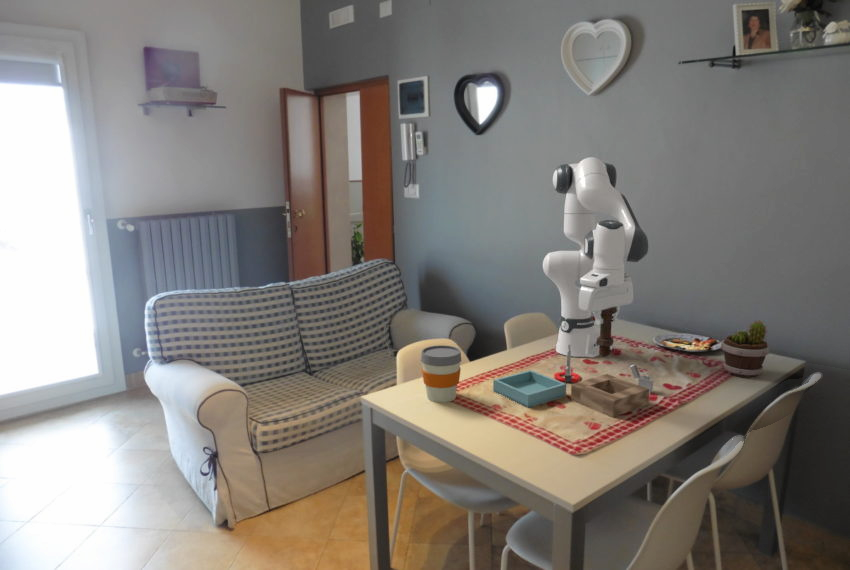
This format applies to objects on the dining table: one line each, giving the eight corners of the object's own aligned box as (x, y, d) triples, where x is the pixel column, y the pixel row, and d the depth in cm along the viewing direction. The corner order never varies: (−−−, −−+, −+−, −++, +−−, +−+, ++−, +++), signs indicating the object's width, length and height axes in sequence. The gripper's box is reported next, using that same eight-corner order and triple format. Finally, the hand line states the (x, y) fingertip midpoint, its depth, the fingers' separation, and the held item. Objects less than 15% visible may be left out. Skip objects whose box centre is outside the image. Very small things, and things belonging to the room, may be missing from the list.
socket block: (606, 388, 195) (606, 374, 194) (648, 404, 182) (649, 388, 181) (570, 399, 186) (571, 384, 185) (612, 417, 173) (613, 401, 172)
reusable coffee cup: (468, 393, 192) (468, 348, 189) (449, 407, 182) (449, 359, 179) (434, 387, 199) (433, 343, 196) (413, 400, 188) (413, 353, 185)
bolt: (617, 356, 181) (620, 307, 178) (605, 359, 178) (607, 310, 175) (603, 351, 186) (606, 303, 183) (591, 354, 183) (593, 305, 180)
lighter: (652, 392, 192) (654, 367, 190) (650, 393, 191) (651, 369, 189) (630, 386, 196) (632, 363, 195) (628, 388, 195) (629, 364, 194)
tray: (530, 381, 202) (530, 369, 202) (565, 396, 189) (566, 384, 189) (493, 391, 194) (493, 379, 193) (527, 407, 181) (528, 395, 180)
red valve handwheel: (553, 374, 210) (555, 382, 201) (554, 338, 208) (556, 344, 199) (578, 375, 209) (581, 384, 200) (579, 339, 207) (582, 345, 198)
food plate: (732, 346, 237) (733, 337, 236) (708, 360, 221) (708, 351, 221) (670, 335, 255) (670, 327, 254) (643, 348, 239) (643, 339, 239)
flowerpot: (711, 373, 207) (716, 317, 203) (728, 363, 218) (733, 308, 214) (758, 384, 197) (764, 324, 193) (773, 372, 207) (779, 315, 203)
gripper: (622, 271, 185) (620, 315, 188) (575, 279, 174) (574, 325, 177) (639, 274, 180) (637, 319, 183) (593, 282, 169) (591, 330, 172)
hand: (605, 322), depth 180 cm, fingers closed on bolt, 5 cm apart
